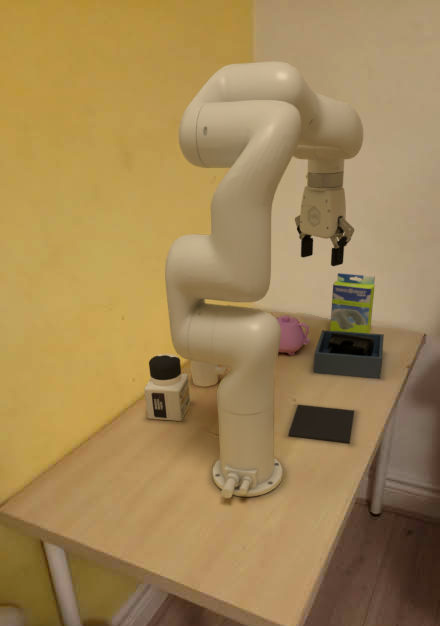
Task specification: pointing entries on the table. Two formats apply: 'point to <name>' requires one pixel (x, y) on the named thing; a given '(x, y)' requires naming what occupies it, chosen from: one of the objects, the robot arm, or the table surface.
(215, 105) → the robot arm
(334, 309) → the box
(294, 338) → the teapot
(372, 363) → the bin
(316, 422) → the mat
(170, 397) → the container
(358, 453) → the table surface
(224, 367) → the mug
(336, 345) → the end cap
